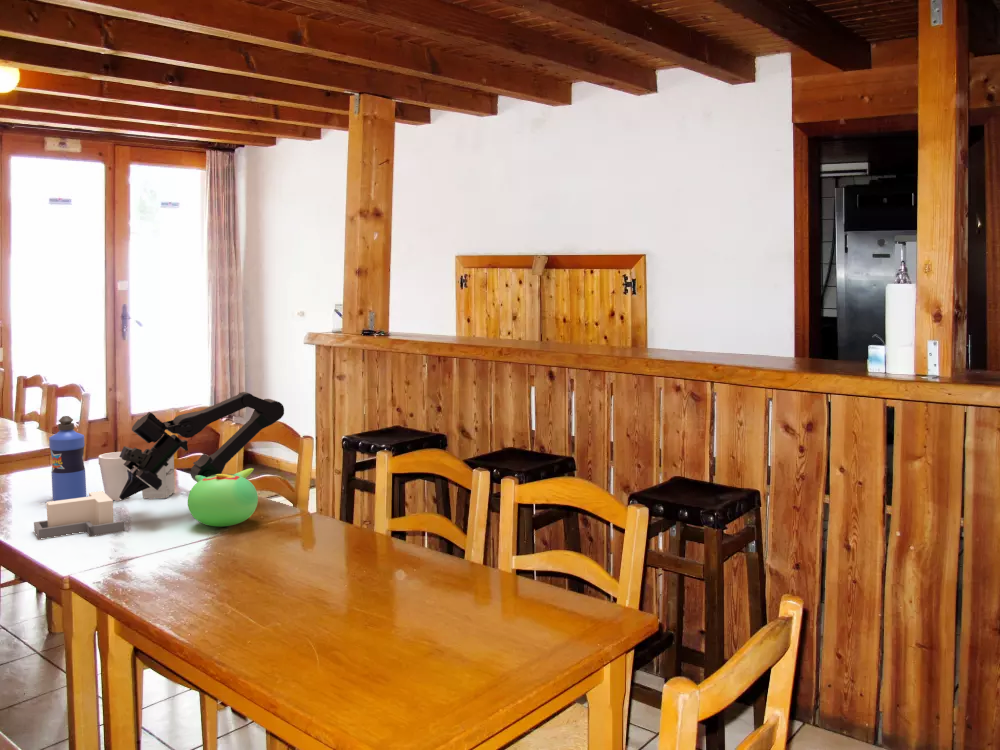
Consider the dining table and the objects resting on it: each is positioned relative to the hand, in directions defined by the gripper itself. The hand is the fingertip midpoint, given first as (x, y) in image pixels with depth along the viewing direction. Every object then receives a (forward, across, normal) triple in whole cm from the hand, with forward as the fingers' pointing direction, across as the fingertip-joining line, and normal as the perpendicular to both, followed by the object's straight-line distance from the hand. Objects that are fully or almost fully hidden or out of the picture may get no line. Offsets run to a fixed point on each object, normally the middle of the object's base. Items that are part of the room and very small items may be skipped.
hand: (120, 498), depth 237 cm
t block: (+12, 0, -3) cm, 13 cm away
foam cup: (+2, -28, +8) cm, 29 cm away
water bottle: (+10, -34, 0) cm, 35 cm away
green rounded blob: (-10, +17, +21) cm, 29 cm away
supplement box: (-6, -24, +16) cm, 29 cm away
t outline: (+12, 0, -3) cm, 13 cm away
